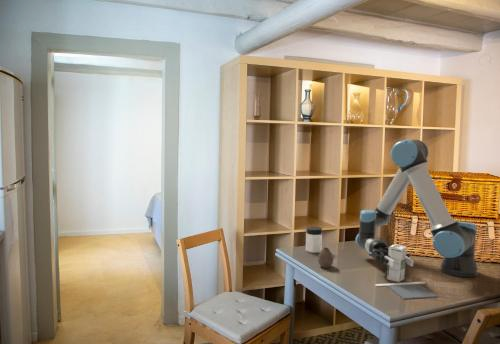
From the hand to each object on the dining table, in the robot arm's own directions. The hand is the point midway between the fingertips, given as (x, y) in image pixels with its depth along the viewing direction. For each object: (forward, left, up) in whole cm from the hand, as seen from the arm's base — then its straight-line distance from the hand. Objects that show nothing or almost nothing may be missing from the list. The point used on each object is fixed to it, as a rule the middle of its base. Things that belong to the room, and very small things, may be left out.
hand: (403, 263), depth 168 cm
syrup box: (0, -5, -9) cm, 10 cm away
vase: (+24, -25, -9) cm, 36 cm away
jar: (+21, -50, -9) cm, 55 cm away
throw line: (+1, +1, -9) cm, 9 cm away
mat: (+1, +9, -9) cm, 12 cm away
